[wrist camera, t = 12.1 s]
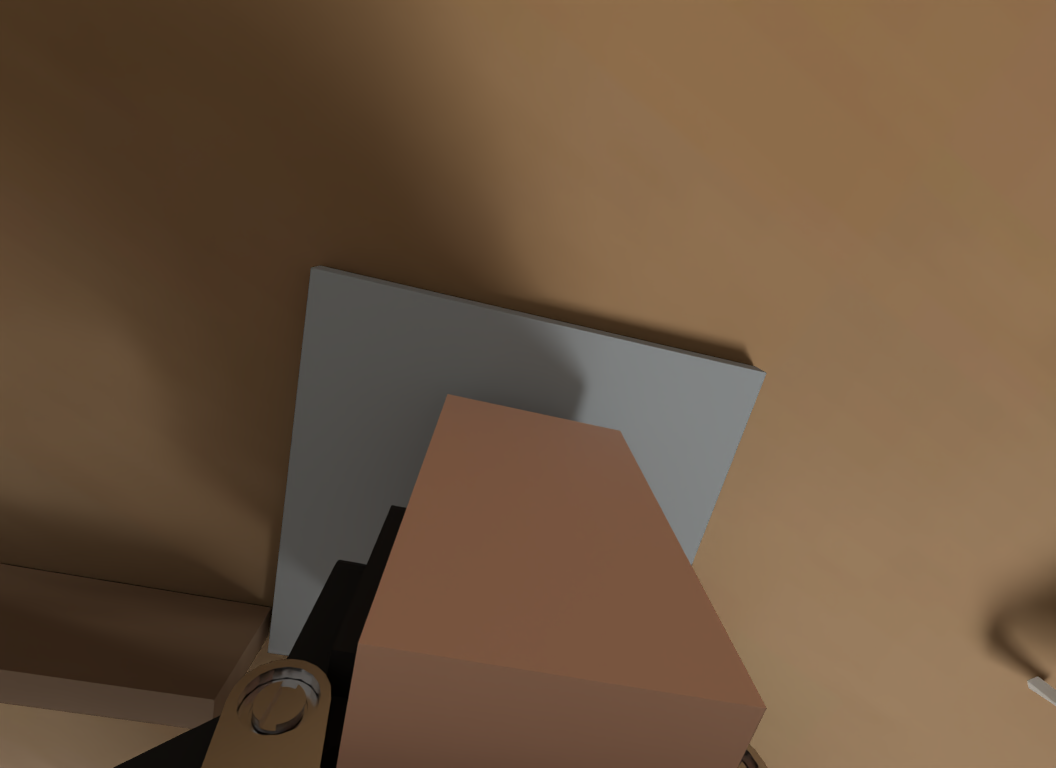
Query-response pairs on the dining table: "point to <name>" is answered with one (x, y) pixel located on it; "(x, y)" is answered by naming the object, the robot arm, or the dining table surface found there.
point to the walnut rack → (122, 648)
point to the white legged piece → (1042, 689)
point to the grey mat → (485, 375)
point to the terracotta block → (541, 614)
